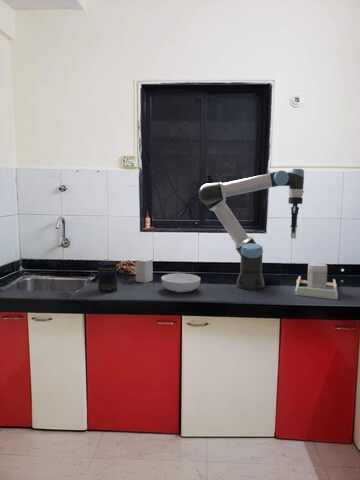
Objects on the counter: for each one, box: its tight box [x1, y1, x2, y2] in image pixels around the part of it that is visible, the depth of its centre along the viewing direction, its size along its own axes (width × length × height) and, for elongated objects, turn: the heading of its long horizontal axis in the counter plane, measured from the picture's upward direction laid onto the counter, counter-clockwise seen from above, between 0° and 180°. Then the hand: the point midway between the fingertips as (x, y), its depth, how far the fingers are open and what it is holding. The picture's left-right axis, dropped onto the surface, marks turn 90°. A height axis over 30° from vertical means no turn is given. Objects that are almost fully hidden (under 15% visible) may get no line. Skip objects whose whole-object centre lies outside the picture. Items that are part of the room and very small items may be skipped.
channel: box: [294, 275, 339, 300], centre depth 193 cm, size 20×34×4 cm, turn 158°
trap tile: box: [295, 279, 338, 287], centre depth 205 cm, size 22×7×1 cm, turn 68°
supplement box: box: [135, 258, 154, 284], centre depth 206 cm, size 7×7×13 cm
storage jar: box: [97, 260, 118, 294], centre depth 185 cm, size 10×10×15 cm
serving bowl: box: [160, 272, 201, 293], centre depth 187 cm, size 21×21×7 cm
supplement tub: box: [306, 262, 328, 289], centre depth 186 cm, size 10×10×15 cm
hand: (293, 238), depth 202 cm, fingers closed
